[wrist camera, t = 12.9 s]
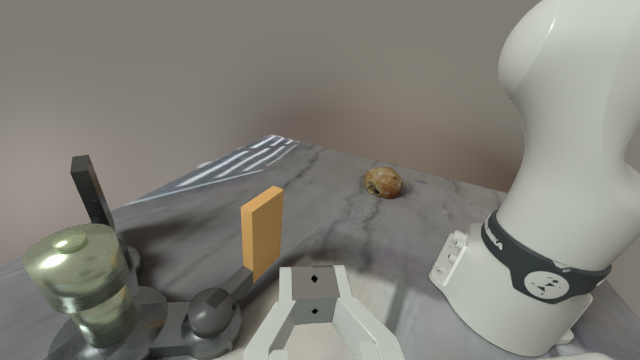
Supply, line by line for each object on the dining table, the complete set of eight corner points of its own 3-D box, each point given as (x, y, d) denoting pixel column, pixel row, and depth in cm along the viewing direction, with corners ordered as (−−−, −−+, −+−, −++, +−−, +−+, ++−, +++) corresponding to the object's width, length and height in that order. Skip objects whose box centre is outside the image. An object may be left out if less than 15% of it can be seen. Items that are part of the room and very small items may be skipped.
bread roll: (356, 197, 66) (357, 179, 60) (372, 172, 71) (374, 152, 65) (391, 212, 62) (395, 193, 56) (405, 184, 67) (410, 164, 61)
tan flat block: (210, 347, 25) (195, 268, 19) (181, 324, 27) (160, 246, 21) (287, 259, 37) (292, 193, 31) (264, 247, 38) (265, 182, 32)
